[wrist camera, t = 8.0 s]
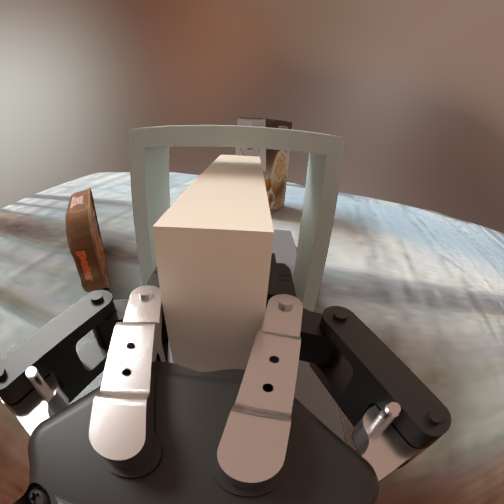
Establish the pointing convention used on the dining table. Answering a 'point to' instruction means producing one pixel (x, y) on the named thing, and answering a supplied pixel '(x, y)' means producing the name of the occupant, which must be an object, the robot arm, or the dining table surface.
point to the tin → (86, 241)
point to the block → (216, 265)
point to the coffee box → (269, 161)
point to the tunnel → (316, 144)
